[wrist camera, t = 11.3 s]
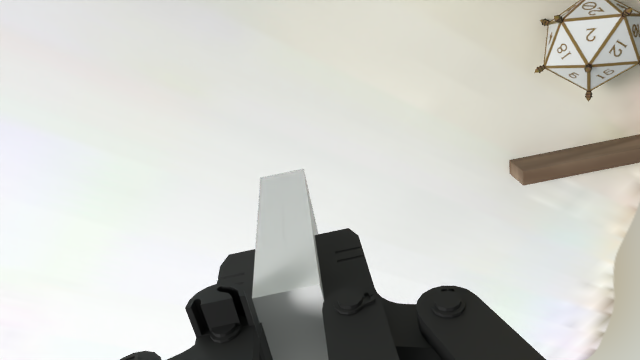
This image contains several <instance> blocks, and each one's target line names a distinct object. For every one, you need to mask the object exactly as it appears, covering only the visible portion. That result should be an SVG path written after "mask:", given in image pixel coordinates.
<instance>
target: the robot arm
mask: <svg viewBox="0 0 640 360" xmlns="http://www.w3.org/2000/svg"><path fill="white" fill-rule="evenodd" d="M185 309H186V311H187V314H188V317H189V319H190V322H191V324H192V327H193V330H194V332H195V335H196V342H195V345H194V346H192V347H191V348H190V349H188V350H186V351H184V352H182V353H181V354H178V355H176V356H174V357H172V358H170V359H167V360H546V359H545V358H544V357H543V356H541V355H540V354H539V353H538V352H537V351H536V350H535V349H534V348H533V347H532V346H531V345H530V344H528V343H527V342H526V341H525V340H524V339H523V338H522V337H521V336H520V335H519V334H518V333H517V332H515V331H514V330H513V329H512V328H511V327H510V326H509V325H508V324H507V323H506V322H505V321H503V320H502V319H501V318H500V317H499V316H498V315H497V314H496V313H495V312H494V311H493V310H492V309H490V308H489V307H488V306H487V305H486V304H485V303H484V302H483V301H482V300H481V299H480V298H479V297H477V296H476V295H475V294H474V293H472V292H470V291H469V290H467V289H465V288H461V287H457V286H440V287H436V288H432V289H430V290H428V291H427V292H425V293H423V294H422V295H421V297H420V298H419V299H418V301H417V304H399V303H394V302H390V301H388V300H386V299H384V298H382V297H381V296H380V295H379V294H378V293H377V292H376V290H375V288H374V285H373V281H372V278H371V275H370V272H369V269H368V265H367V262H366V259H365V256H364V252H363V249H362V246H361V243H360V239H359V236H358V235H357V234H355V233H354V232H353V231H351V230H350V229H349V228H347V229H342V230H338V231H333V232H328V233H323V234H319V235H318V230H317V226H316V222H315V217H314V213H313V208H312V204H311V199H310V195H309V191H308V186H307V182H306V177H305V173H304V169H300V170H295V171H291V172H286V173H281V174H277V175H272V176H267V177H262V178H260V190H259V205H258V219H257V233H256V248H255V249H254V250H249V251H245V252H240V253H235V254H230V255H229V256H228V257H227V258H226V259H225V261H224V262H223V263H222V265H221V266H220V270H219V276H218V281H217V284H215V285H212V286H209V287H207V288H205V289H203V290H201V291H200V292H198V293H197V294H195V295H194V296H193V297H192V298H191V299H190V300H189V302H188V304H187V306H186V308H185ZM120 360H161V357H160V356H158V355H157V354H156V353H155V352H149V351H142V352H137V353H133V354H130V355H128V356H126V357H124V358H122V359H120Z"/></svg>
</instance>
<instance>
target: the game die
mask: <svg viewBox="0 0 640 360" xmlns="http://www.w3.org/2000/svg"><path fill="white" fill-rule="evenodd" d="M540 21H541V23H542V25H544V26H545V25H547V26H548V29H547V38H546V47H545V57H544V65H543V66H540V67H537V69H536V70H535V72H539V73H541V71H543V70H544V69H547V70H549V71H551V72H553V73H555V74H556V75H558V76H560V77H562V78H564V79H566V80H568V81H570V82H571V83H573V84H575V85H577V86H579V87H581V88H583V89H585V90H586V91H587V92H586V96H585V97H586V99H587V100H588V101H589V100H590V99H591V97H592V93H591V90H593V89H595V88H597V87H598V86H600V85H602V84H604V83H606V82H607V81H609V80H611V79H613V78H614V77H616V76H618V75H620V74H621V73H623V72H625V71H627V70H628V69H630V68H632V67H634V66H635V65H637V64H639V65H640V12H638V11H636V10H634V9H632V8H630V7H628V6H626V5H624V4H622V3H620V2H619V1H617V0H579V1H578V2H577V3H575V4H574V5H572V6H571V7H570V8H568V9H567V10H566V11H564V12H563V13H561V14H560V15H556V16H554V19H553V20H552V21H550V22H549V20H546V19H543V20H540Z"/></svg>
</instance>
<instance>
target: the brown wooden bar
mask: <svg viewBox="0 0 640 360" xmlns="http://www.w3.org/2000/svg"><path fill="white" fill-rule="evenodd" d="M639 162H640V135H635V136H630V137H624V138H619V139H614V140H609V141H604V142H599V143H594V144H589V145H584V146H579V147H574V148H569V149H564V150H559V151H554V152H549V153H544V154H539V155H534V156H528V157H523V158H518V159H513V160H510V174H511V175H512V176H513V177H514V178H515V179H517V180H518V181H519V182H520V183H521V184H522V185H528V184H533V183H538V182H543V181H548V180H553V179H558V178H563V177H568V176H573V175H578V174H583V173H588V172H593V171H599V170H604V169H609V168H614V167H619V166H624V165H629V164H634V163H639Z"/></svg>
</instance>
